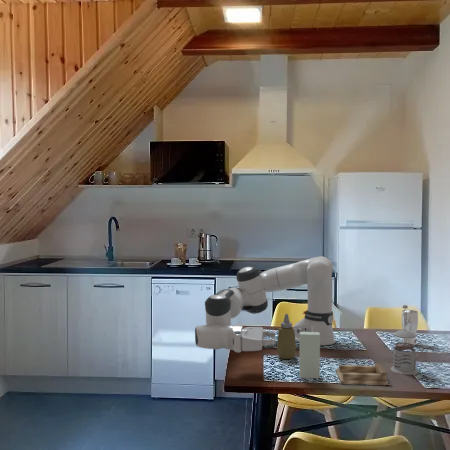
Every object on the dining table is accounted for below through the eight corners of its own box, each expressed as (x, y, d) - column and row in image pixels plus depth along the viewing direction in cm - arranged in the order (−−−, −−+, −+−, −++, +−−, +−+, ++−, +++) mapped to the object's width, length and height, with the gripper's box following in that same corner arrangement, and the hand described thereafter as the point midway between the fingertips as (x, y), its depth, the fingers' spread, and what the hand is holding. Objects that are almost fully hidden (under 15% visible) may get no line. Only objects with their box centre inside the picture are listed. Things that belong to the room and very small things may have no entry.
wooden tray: (341, 383, 167) (341, 372, 167) (335, 371, 180) (335, 360, 180) (387, 385, 166) (388, 374, 165) (379, 372, 179) (379, 362, 178)
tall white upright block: (300, 378, 173) (300, 334, 172) (299, 374, 176) (299, 331, 176) (319, 378, 172) (319, 334, 172) (318, 375, 176) (318, 332, 175)
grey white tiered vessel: (393, 364, 188) (394, 301, 188) (424, 369, 183) (425, 304, 182) (388, 371, 180) (388, 305, 179) (421, 377, 174) (422, 309, 173)
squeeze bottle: (297, 355, 199) (298, 312, 199) (294, 361, 192) (294, 316, 191) (278, 353, 202) (279, 311, 202) (274, 359, 194) (274, 315, 194)
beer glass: (415, 342, 220) (415, 309, 220) (419, 346, 213) (420, 313, 213) (399, 341, 221) (400, 309, 221) (403, 345, 214) (404, 312, 214)
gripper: (239, 338, 186) (275, 339, 185) (235, 353, 166) (275, 354, 165) (239, 322, 186) (275, 323, 185) (235, 335, 166) (275, 336, 165)
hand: (275, 338), depth 175 cm, fingers open, 8 cm apart
